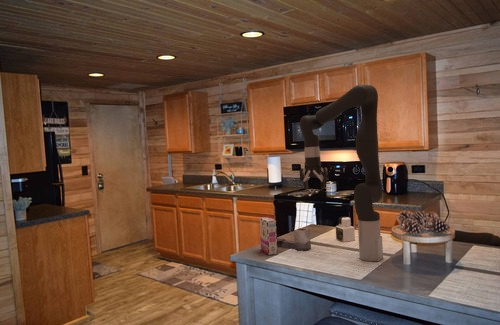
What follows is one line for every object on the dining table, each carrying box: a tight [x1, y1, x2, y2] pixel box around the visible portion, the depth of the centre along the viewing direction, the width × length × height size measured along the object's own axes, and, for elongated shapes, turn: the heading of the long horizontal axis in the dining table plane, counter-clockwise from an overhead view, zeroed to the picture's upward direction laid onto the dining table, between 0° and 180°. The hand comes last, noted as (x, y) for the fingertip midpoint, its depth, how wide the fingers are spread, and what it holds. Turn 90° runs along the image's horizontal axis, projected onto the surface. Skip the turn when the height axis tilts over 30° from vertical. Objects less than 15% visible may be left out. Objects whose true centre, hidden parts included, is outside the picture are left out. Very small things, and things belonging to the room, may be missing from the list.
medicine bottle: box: [335, 216, 356, 243], centre depth 199 cm, size 7×7×12 cm
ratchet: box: [277, 237, 312, 252], centre depth 192 cm, size 22×8×8 cm, turn 55°
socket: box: [293, 227, 311, 244], centre depth 188 cm, size 6×6×6 cm
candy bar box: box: [259, 216, 279, 256], centre depth 185 cm, size 11×5×16 cm, turn 18°
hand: (314, 189), depth 188 cm, fingers open, 8 cm apart
